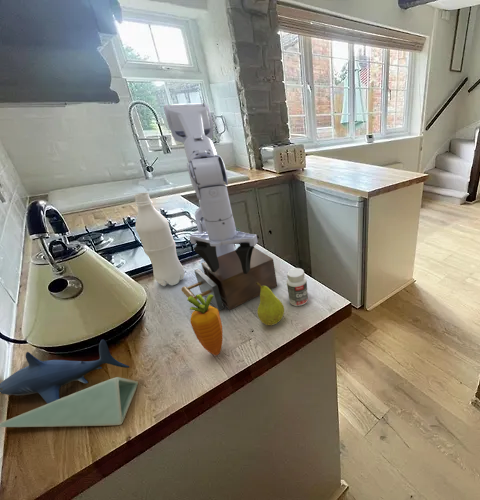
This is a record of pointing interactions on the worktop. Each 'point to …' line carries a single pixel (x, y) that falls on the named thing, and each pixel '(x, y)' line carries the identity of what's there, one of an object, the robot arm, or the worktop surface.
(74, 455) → the worktop surface
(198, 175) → the robot arm
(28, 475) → the worktop surface
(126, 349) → the worktop surface
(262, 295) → the fruit
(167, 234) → the water bottle
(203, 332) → the carrot
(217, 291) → the drawer
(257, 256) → the cabinet
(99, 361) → the toy
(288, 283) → the pill bottle
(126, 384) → the hollow green wedge
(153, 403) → the worktop surface
